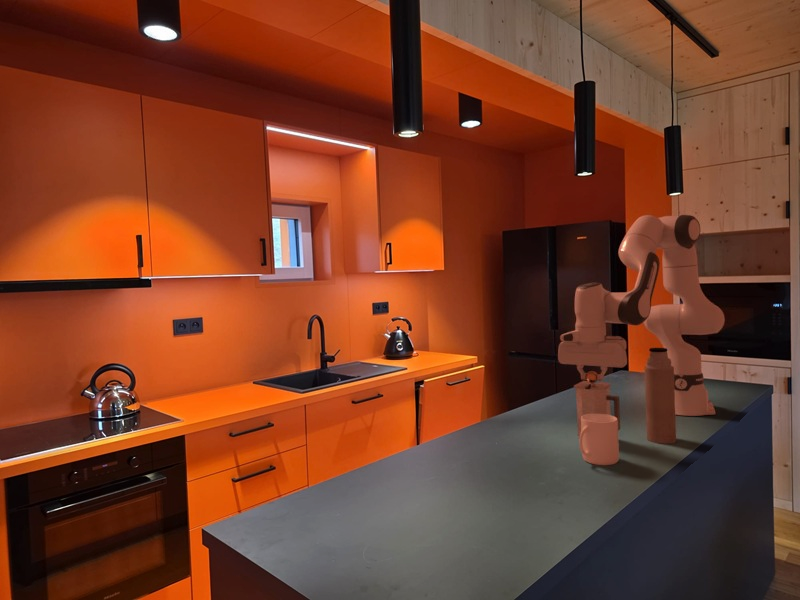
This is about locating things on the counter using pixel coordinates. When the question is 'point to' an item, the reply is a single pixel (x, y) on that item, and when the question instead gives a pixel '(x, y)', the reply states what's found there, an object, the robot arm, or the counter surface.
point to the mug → (599, 439)
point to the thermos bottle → (660, 397)
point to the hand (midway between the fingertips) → (592, 379)
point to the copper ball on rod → (592, 377)
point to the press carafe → (595, 401)
